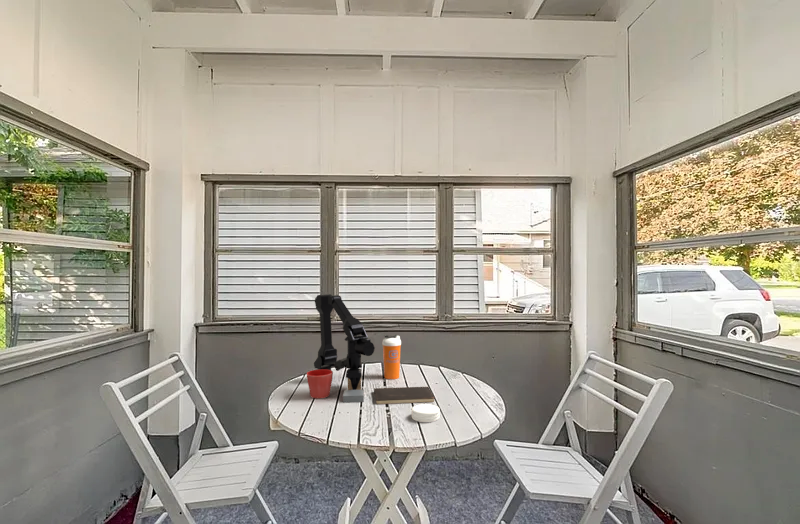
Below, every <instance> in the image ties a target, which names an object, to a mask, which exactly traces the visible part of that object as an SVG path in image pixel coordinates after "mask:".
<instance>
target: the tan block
mask: <svg viewBox="0 0 800 524" xmlns="http://www.w3.org/2000/svg"><path fill="white" fill-rule="evenodd" d="M347 390H353V389H352V384H351V380H350V379H349V378H347ZM356 390H362V377H361V378H360V381H359V384H358V386H357V389H356Z"/></svg>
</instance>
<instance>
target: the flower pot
mask: <svg viewBox="0 0 800 524" xmlns="http://www.w3.org/2000/svg"><path fill="white" fill-rule="evenodd" d="M333 374H334V372H333V370H332V369H331V370H327V369H313V370H308V371H307V372H306V380H307V385H308V389H309V396H310V397H311V398H312V399H315V400H316V399H317V400H318V399H325V398H328V397H330V395H331V388H332V382H333V379H332V377H333Z"/></svg>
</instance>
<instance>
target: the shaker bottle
mask: <svg viewBox="0 0 800 524" xmlns="http://www.w3.org/2000/svg"><path fill="white" fill-rule="evenodd" d="M383 337H384V338H383V339H382V344H381V345H382V352H383V353H382V355H383V358H382V359H383V374H384V375H383V376H384V379H386V380H396V379H399V378H400V374H401V373H400V367H401V346H402V340H401V336H400V335H399V334H397V333H395V334H394V335H393V334H384V335H383Z"/></svg>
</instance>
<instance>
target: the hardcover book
mask: <svg viewBox="0 0 800 524" xmlns="http://www.w3.org/2000/svg"><path fill="white" fill-rule="evenodd" d="M373 393H374V396H375V401H376V405H385V404H386V405H387V404H389V405H391V404H415V403H416V404H417V403H419V404H420V403H434V402H435V399H436V398H435V396H434V393H432V390H431V389H430V387H429V386H406V387H404V386H402V387H381V388H379V387H378V388H377V387H375V388H373Z"/></svg>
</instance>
